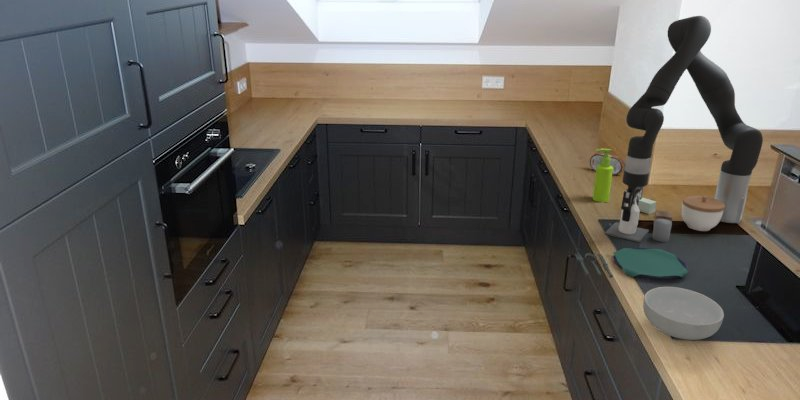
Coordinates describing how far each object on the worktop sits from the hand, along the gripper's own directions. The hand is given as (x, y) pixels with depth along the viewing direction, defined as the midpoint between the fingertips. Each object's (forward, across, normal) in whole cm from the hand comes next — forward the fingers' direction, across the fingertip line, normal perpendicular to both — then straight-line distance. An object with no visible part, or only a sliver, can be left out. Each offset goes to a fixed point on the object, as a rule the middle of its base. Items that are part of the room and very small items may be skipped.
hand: (629, 216), depth 187 cm
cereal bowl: (+6, -51, -27) cm, 58 cm away
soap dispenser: (+6, +26, +18) cm, 32 cm away
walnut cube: (+6, +12, -8) cm, 16 cm away
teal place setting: (+6, -24, -8) cm, 26 cm away
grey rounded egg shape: (+6, +2, -10) cm, 12 cm away
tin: (+6, +61, +27) cm, 67 cm away
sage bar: (+6, +25, +2) cm, 26 cm away
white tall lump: (+5, 0, 0) cm, 5 cm away
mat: (+6, 0, 0) cm, 6 cm away
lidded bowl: (+6, +20, -18) cm, 28 cm away
